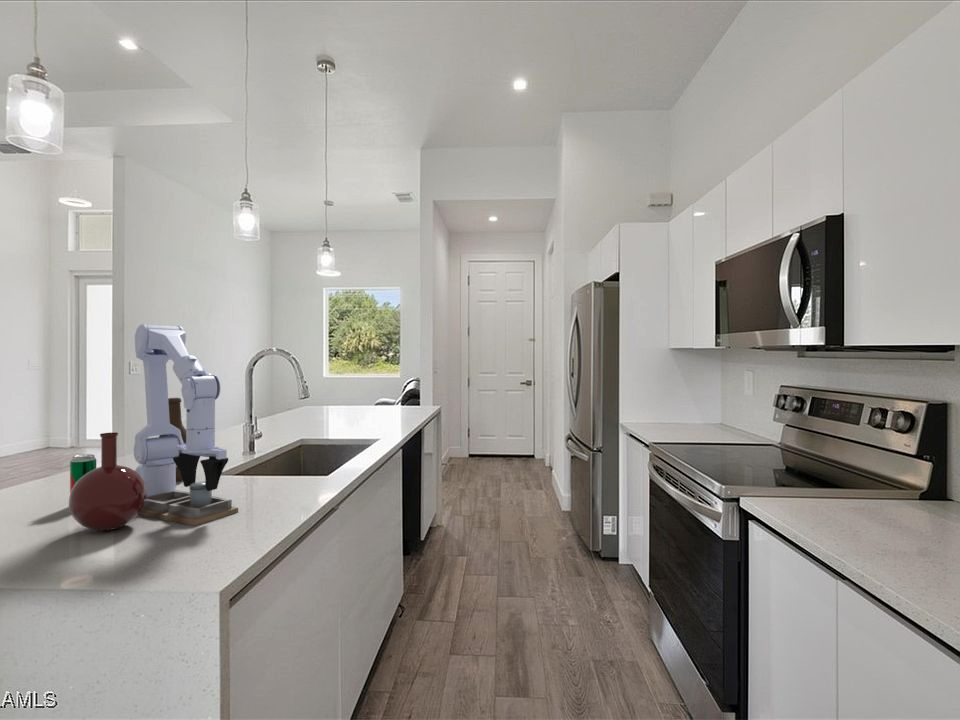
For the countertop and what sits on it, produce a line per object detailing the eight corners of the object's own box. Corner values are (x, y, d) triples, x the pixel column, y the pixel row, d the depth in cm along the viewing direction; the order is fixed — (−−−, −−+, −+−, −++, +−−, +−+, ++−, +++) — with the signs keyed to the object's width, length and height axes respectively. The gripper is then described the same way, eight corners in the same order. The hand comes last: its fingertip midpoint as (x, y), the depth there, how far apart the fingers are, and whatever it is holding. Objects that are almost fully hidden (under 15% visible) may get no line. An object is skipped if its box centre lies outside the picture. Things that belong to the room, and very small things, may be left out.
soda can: (81, 509, 120) (81, 458, 120) (64, 507, 121) (64, 457, 121) (101, 503, 125) (101, 454, 125) (84, 501, 126) (84, 453, 126)
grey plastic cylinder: (184, 511, 114) (184, 484, 114) (203, 506, 118) (203, 480, 118) (198, 514, 112) (198, 487, 112) (216, 508, 117) (216, 482, 116)
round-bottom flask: (51, 541, 99) (51, 438, 99) (97, 519, 112) (97, 429, 112) (122, 539, 100) (122, 438, 100) (159, 518, 113) (159, 428, 113)
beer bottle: (151, 482, 145) (151, 398, 145) (172, 476, 153) (172, 396, 153) (175, 483, 144) (175, 399, 144) (195, 477, 152) (195, 397, 151)
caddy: (130, 512, 117) (130, 499, 117) (176, 500, 127) (176, 488, 127) (194, 525, 108) (194, 511, 108) (238, 511, 118) (238, 499, 118)
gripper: (162, 428, 115) (162, 488, 115) (206, 432, 109) (206, 496, 109) (192, 424, 121) (191, 481, 121) (234, 428, 115) (234, 488, 115)
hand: (200, 487), depth 115 cm, fingers open, 7 cm apart
